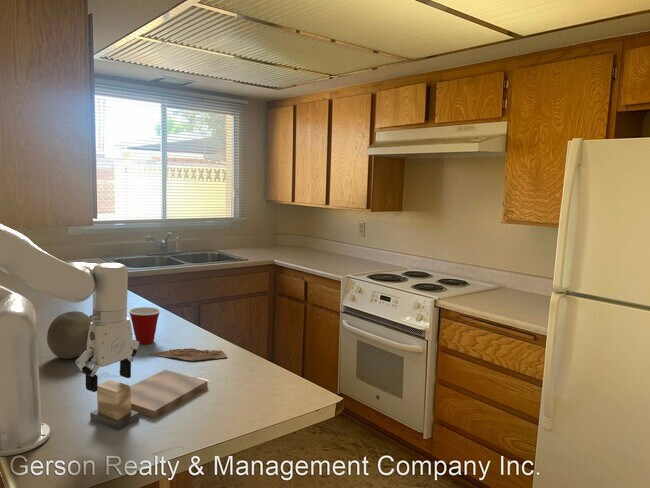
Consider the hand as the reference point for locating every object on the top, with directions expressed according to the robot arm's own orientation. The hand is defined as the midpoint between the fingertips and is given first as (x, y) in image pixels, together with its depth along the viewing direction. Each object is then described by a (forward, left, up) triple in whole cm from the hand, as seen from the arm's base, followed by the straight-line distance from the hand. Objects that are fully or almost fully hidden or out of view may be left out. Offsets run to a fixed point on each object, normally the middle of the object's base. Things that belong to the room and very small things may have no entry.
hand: (109, 383), depth 117 cm
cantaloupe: (+22, +43, -10) cm, 50 cm away
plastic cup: (+44, +34, -10) cm, 57 cm away
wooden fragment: (+42, +12, -10) cm, 45 cm away
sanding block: (+1, -1, -10) cm, 10 cm away
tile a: (+28, -4, -10) cm, 30 cm away
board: (+16, -1, -10) cm, 19 cm away
